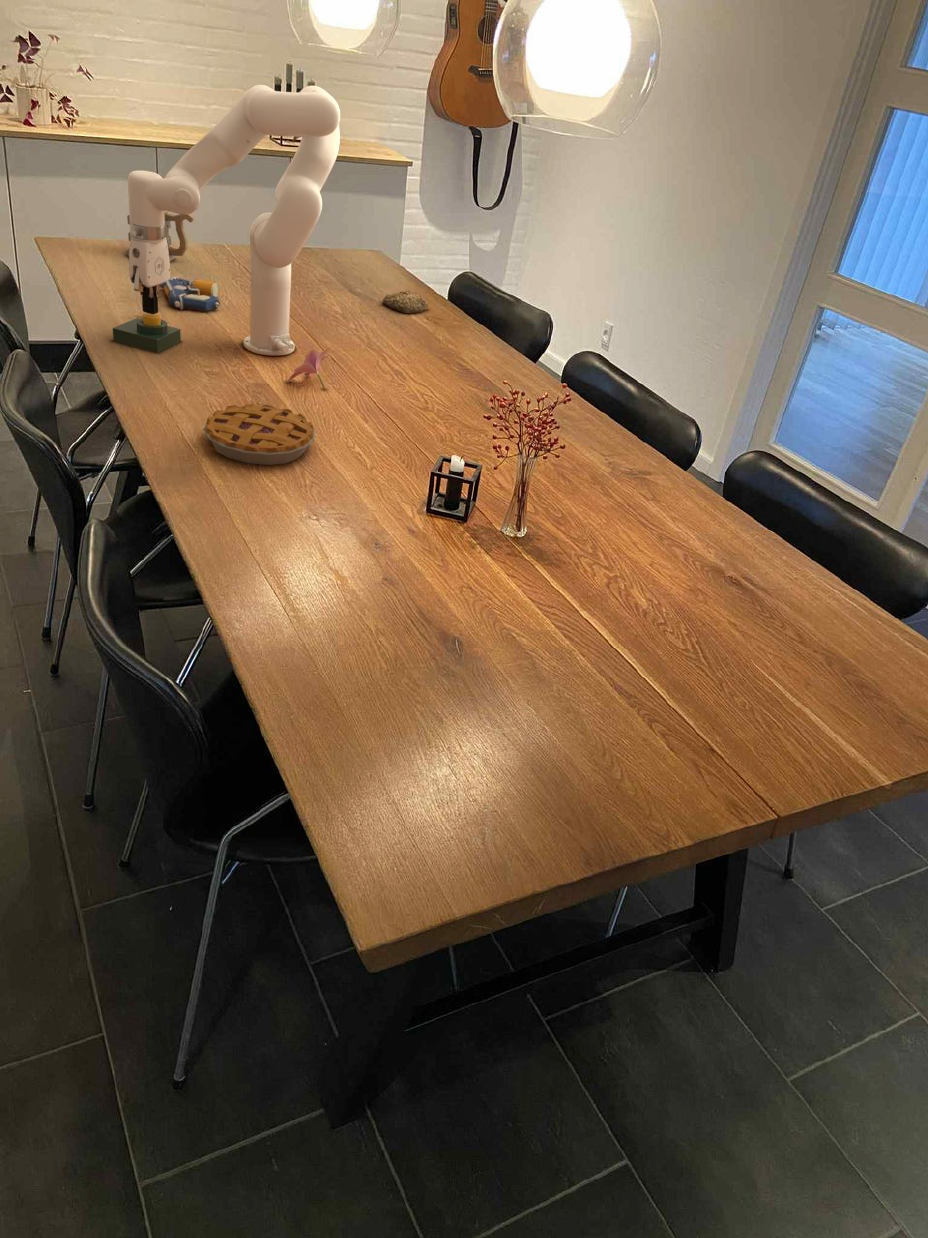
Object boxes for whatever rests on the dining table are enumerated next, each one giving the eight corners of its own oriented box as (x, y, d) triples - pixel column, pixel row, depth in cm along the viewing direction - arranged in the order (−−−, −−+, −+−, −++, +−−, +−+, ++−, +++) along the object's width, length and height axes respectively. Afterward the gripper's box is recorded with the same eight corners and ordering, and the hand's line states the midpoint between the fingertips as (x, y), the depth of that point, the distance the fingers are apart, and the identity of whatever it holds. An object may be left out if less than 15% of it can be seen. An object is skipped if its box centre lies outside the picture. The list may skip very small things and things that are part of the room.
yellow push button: (164, 323, 223) (163, 315, 222) (154, 328, 219) (154, 319, 218) (149, 320, 223) (149, 311, 222) (139, 324, 220) (139, 315, 219)
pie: (223, 414, 196) (223, 392, 194) (325, 432, 196) (326, 410, 194) (188, 456, 178) (188, 432, 176) (300, 476, 178) (301, 452, 176)
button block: (180, 341, 227) (180, 321, 224) (157, 353, 219) (156, 332, 216) (137, 330, 229) (136, 310, 227) (113, 341, 221) (111, 320, 218)
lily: (334, 380, 224) (318, 342, 220) (352, 379, 214) (336, 339, 210) (290, 399, 220) (274, 360, 216) (306, 399, 210) (289, 358, 206)
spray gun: (212, 288, 265) (158, 288, 258) (212, 273, 262) (157, 272, 256) (229, 314, 250) (172, 314, 244) (229, 298, 248) (171, 298, 241)
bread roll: (402, 315, 270) (404, 298, 267) (377, 302, 277) (378, 285, 274) (435, 311, 278) (437, 295, 275) (410, 298, 285) (412, 282, 282)
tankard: (121, 257, 276) (117, 204, 268) (140, 248, 286) (137, 197, 278) (185, 270, 275) (183, 217, 266) (202, 261, 285) (201, 209, 277)
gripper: (142, 240, 203) (146, 323, 213) (180, 229, 215) (181, 308, 225) (112, 233, 204) (117, 315, 214) (151, 222, 216) (154, 301, 226)
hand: (150, 312), depth 220 cm, fingers closed
